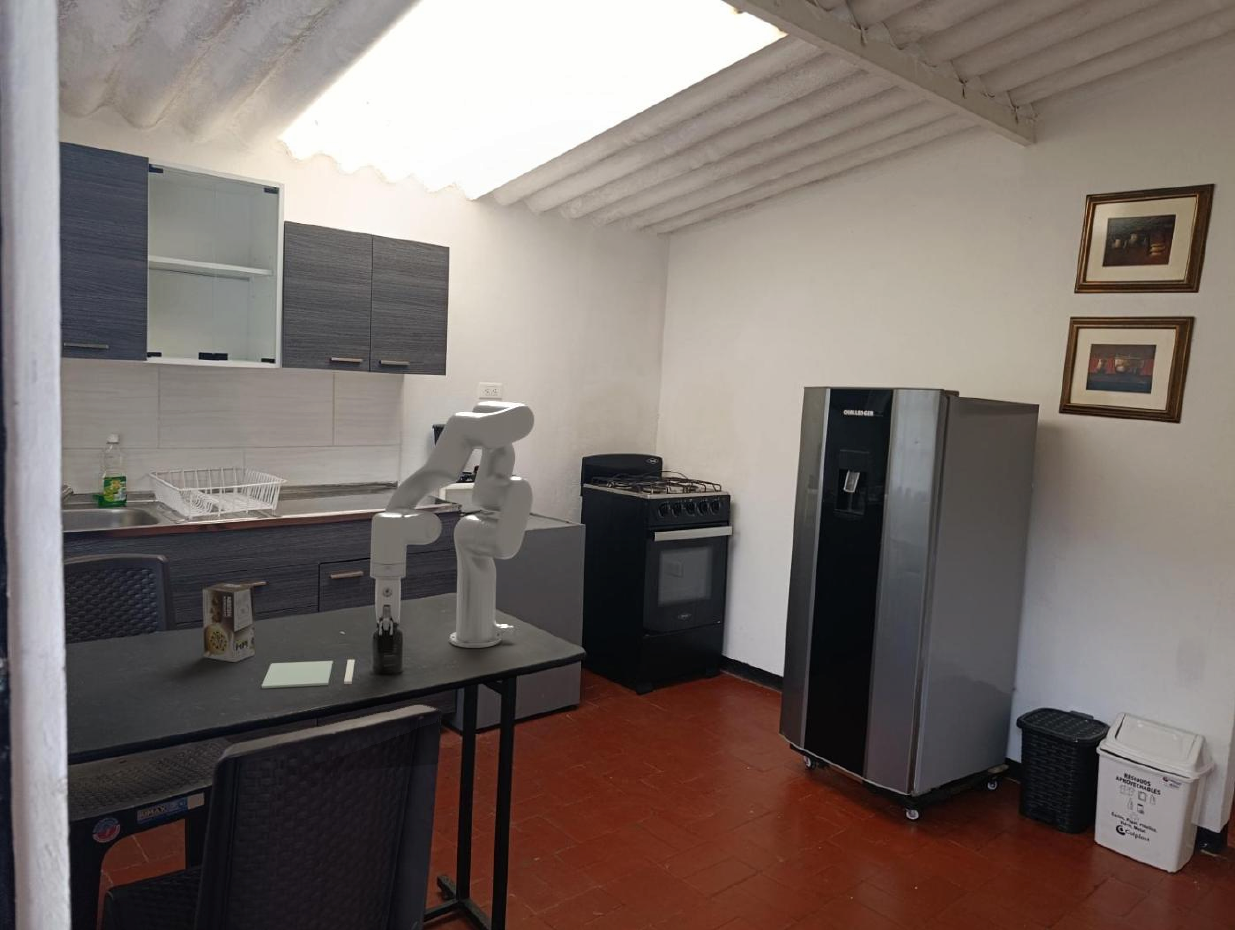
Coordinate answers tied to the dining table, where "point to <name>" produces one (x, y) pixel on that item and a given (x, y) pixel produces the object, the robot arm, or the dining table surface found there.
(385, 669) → the supplement bottle
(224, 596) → the coffee box
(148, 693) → the dining table surface
